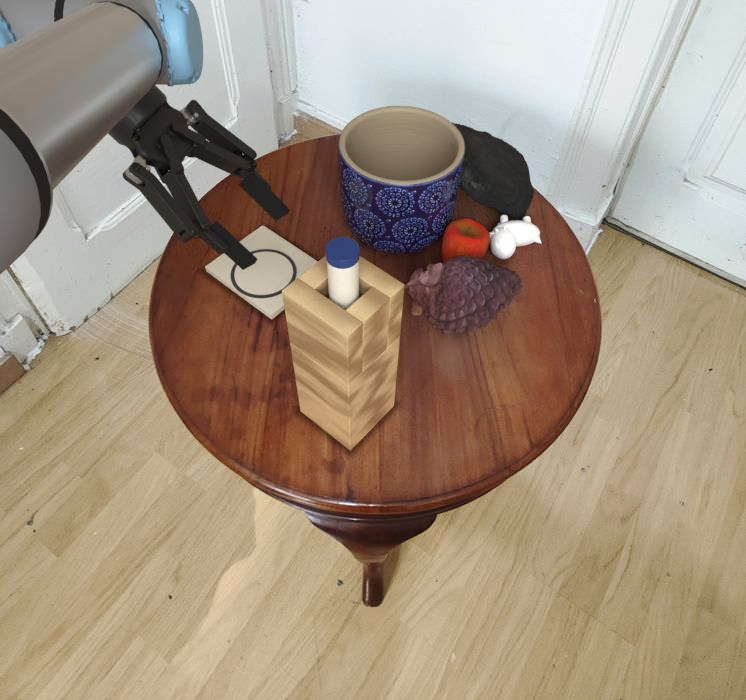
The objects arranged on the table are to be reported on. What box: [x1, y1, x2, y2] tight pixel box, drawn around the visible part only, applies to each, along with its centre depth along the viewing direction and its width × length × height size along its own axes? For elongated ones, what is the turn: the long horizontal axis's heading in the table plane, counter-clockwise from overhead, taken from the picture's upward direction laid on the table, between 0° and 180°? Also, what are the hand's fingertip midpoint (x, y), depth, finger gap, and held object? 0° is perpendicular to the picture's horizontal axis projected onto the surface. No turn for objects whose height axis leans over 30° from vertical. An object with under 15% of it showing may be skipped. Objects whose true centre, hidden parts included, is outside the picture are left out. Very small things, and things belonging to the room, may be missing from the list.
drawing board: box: [204, 224, 319, 320], centre depth 88 cm, size 11×13×1 cm
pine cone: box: [404, 256, 523, 336], centre depth 81 cm, size 18×10×10 cm
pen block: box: [282, 255, 405, 451], centre depth 67 cm, size 8×8×22 cm
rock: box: [450, 121, 535, 221], centre depth 92 cm, size 15×14×7 cm
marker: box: [324, 236, 360, 311], centre depth 59 cm, size 3×3×13 cm
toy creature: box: [489, 214, 543, 260], centre depth 90 cm, size 5×8×6 cm
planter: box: [337, 105, 465, 255], centre depth 88 cm, size 16×17×15 cm
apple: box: [441, 218, 491, 263], centre depth 86 cm, size 6×6×8 cm
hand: (267, 239), depth 79 cm, fingers open, 9 cm apart
